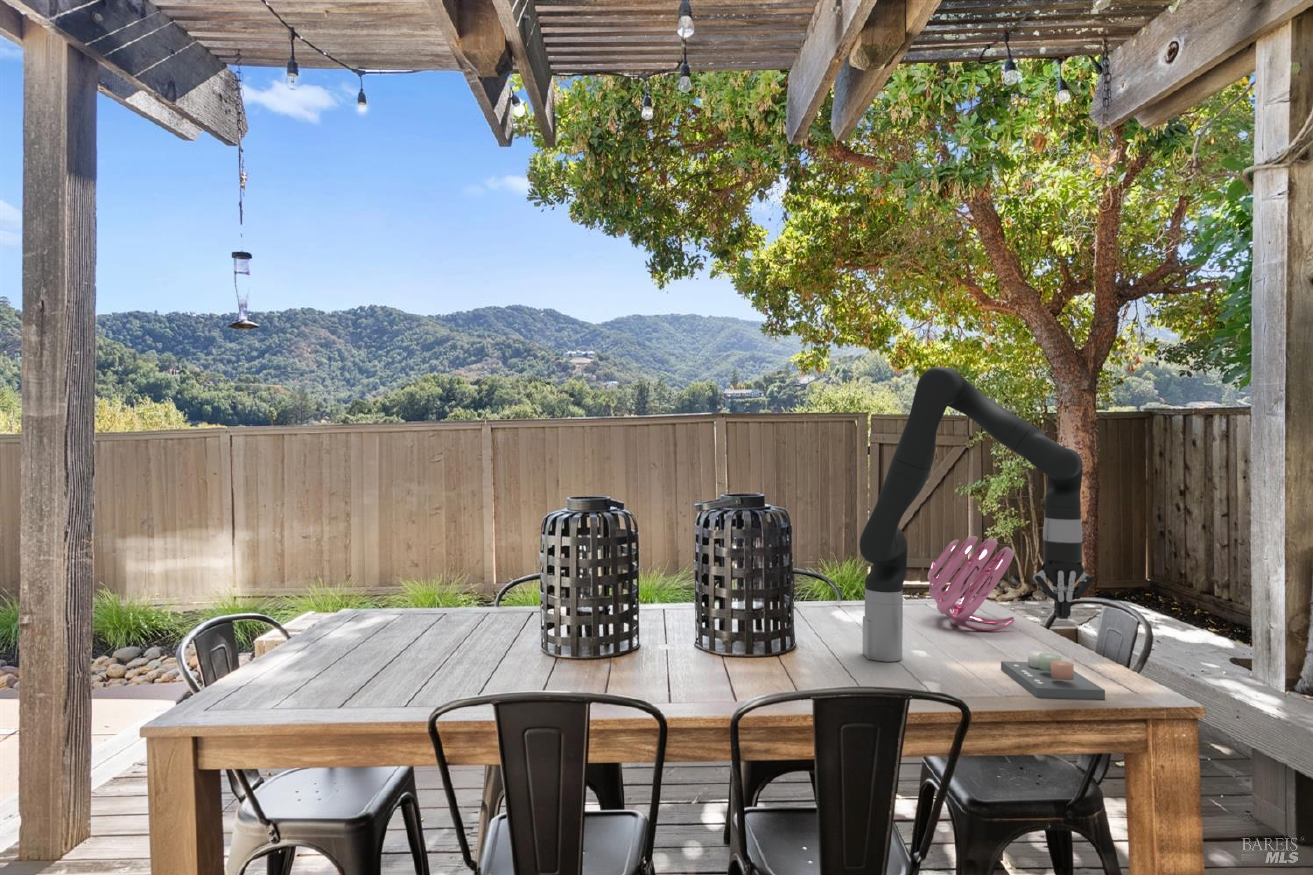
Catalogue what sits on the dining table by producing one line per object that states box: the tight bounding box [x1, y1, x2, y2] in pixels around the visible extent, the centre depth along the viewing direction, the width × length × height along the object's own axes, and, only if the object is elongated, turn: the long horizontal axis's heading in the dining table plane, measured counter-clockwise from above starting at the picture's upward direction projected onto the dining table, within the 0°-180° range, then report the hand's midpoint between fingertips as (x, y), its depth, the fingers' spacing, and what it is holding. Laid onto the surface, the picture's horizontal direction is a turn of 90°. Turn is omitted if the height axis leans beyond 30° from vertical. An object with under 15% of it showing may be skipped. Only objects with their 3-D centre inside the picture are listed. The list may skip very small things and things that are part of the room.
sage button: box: [1039, 652, 1062, 672], centre depth 171 cm, size 4×4×3 cm
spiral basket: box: [927, 535, 1016, 632], centre depth 225 cm, size 28×28×27 cm
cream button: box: [1027, 649, 1047, 668], centre depth 177 cm, size 4×4×3 cm
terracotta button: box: [1051, 660, 1075, 680], centre depth 165 cm, size 4×4×3 cm
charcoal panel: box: [1000, 660, 1106, 701], centre depth 171 cm, size 14×20×2 cm
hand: (1062, 618), depth 165 cm, fingers closed
